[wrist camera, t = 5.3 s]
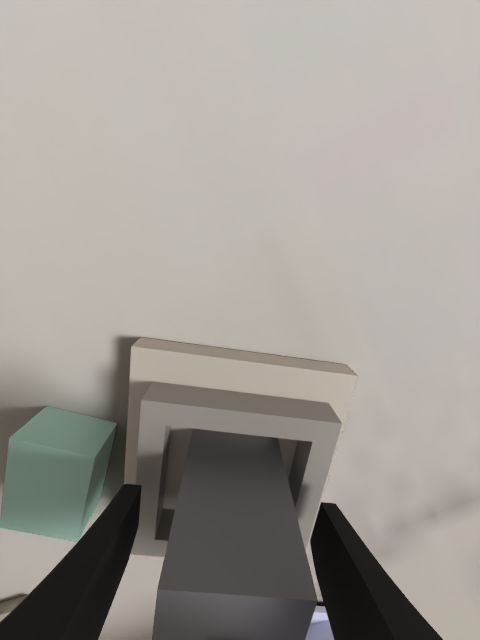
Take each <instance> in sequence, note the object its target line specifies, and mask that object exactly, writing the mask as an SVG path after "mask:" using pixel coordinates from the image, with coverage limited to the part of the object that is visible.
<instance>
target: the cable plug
mask: <svg viewBox="0 0 480 640" xmlns="http://www.w3.org/2000/svg"><path fill="white" fill-rule="evenodd" d="M116 428H117V423H116V422H111V421H107V420H103V419H99V418H95V417H91V416H87V415H82V414H78V413H74V412H70V411H66V410H62V409H58V408H53V407H49V406H46V407H45V408H44V409H43V410H42V411H40V412H39V413H38V414H37V415H36V416H34V417H33V418H32V419H31V420H30V421H29V422H27V423H26V424H25V425H24V426H23V427H21V428H20V429H19V430H18V431H17V432H15V433H14V434H13V435H12V436H11V437H10V438H9V443H8V452H7V461H6V470H5V480H4V489H3V498H2V507H1V516H0V528H6V529H11V530H16V531H22V532H27V533H32V534H38V535H43V536H48V537H53V538H59V539H64V540H69V541H75V542H78V540H79V538H80V536H81V534H82V532H83V530H84V528H85V526H86V525H87V523H88V521H89V519H90V517H91V515H92V513H93V511H94V509H95V508H96V506H97V504H98V502H99V500H100V498H101V493H102V489H103V485H104V480H105V476H106V472H107V467H108V463H109V458H110V454H111V450H112V445H113V441H114V436H115V432H116Z"/></svg>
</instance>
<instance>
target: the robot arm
mask: <svg viewBox="0 0 480 640" xmlns="http://www.w3.org/2000/svg"><path fill="white" fill-rule="evenodd" d="M141 488H142V485H135V484H125V485H123V486H122V487H121V489H120V490H119V492H118V493H117V494H116V496H115V497H114V498H113V500H112V501H111V502H110V504H109V505H108V506H107V508H106V509H105V510H104V511H103V513H102V514H101V515H100V516H99V518H98V519H97V520H96V521H95V522H94V524H93V525H92V526H91V527H90V528H89V530H88V531H87V532H86V533H85V534H84V535H83V537H82V538H81V539H80V540H79V541H78V543H77V544H76V545H75V546H74V547H73V548H72V549H71V550H70V551H69V553H68V554H67V555H66V556H65V557H64V558H63V559H62V560H61V561H60V562H59V563H58V565H57V566H56V567H55V568H54V569H53V570H52V571H51V572H50V573H49V574H48V575H47V576H46V577H45V578H44V579H43V581H42V582H41V583H40V584H39V585H38V586H37V587H36V588H35V589H34V590H33V591H32V592H31V593H30V594H29V595H28V596H27V597H26V598H25V599H24V600H23V601H22V602H21V603H20V604H19V605H18V606H17V607H16V608H15V609H14V610H13V611H11V612H10V613H9V614H8V615H7V616H6V617H5V618H4V619H3V620H2V621H1V622H0V640H98V638H99V635H100V633H101V630H102V627H103V625H104V622H105V620H106V617H107V615H108V612H109V609H110V607H111V604H112V602H113V599H114V596H115V594H116V591H117V589H118V586H119V584H120V581H121V578H122V576H123V573H124V571H125V568H126V565H127V563H128V560H129V557H130V553H131V550H132V547H133V544H134V540H135V537H136V533H137V530H138V526H139V515H140V501H141ZM310 544H311V549H312V555H313V561H314V566H315V571H316V576H317V579H318V583H319V587H320V590H321V594H322V598H323V601H324V605H325V606H316V608H315V611H314V614H313V617H312V620H311V623H310V626H309V629H308V632H307V635H306V639H305V640H443V639H442V638H441V637H440V636H439V634H438V633H437V632H436V631H435V630H434V629H433V628H432V627H431V626H430V624H429V623H428V622H427V621H426V620H425V619H424V618H423V617H422V615H421V614H420V613H419V612H418V611H417V610H416V609H415V607H414V606H413V605H412V604H411V603H410V601H409V600H408V599H407V598H406V597H405V595H404V594H403V593H402V592H401V590H400V589H399V588H398V587H397V586H396V584H395V583H394V582H393V581H392V579H391V578H390V577H389V576H388V574H387V573H386V572H385V570H384V569H383V568H382V566H381V565H380V564H379V563H378V561H377V560H376V559H375V557H374V556H373V555H372V553H371V552H370V551H369V549H368V548H367V547H366V545H365V544H364V543H363V541H362V540H361V538H360V537H359V536H358V534H357V533H356V532H355V530H354V529H353V527H352V526H351V525H350V523H349V522H348V520H347V519H346V518H345V516H344V515H343V514H342V512H341V511H340V509H339V508H338V507H337V505H336V504H333V503H323V502H321V504H320V507H319V511H318V514H317V518H316V521H315V525H314V528H313V531H312V535H311V538H310Z"/></svg>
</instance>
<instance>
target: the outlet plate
mask: <svg viewBox="0 0 480 640" xmlns="http://www.w3.org/2000/svg"><path fill="white" fill-rule="evenodd" d="M357 379H358V375H357V374H356V373H355V372H354V371H353V370H352V369H351V368H350V367H349V366H348V365H345V364H337V363H330V362H322V361H315V360H307V359H300V358H292V357H285V356H277V355H270V354H262V353H255V352H247V351H240V350H232V349H225V348H217V347H210V346H202V345H195V344H187V343H180V342H172V341H165V340H157V339H150V338H142V337H141V338H140V339H138V340H137V341H136V342H135V343H134V344H133V345H132V346H131V360H130V378H129V397H128V416H127V434H126V453H125V472H124V485H125V484H135V485H142V488H141V501H140V515H139V526H138V530H137V533H136V537H135V540H134V544H133V547H132V550H131V553H130V557H137V558H150V559H163V560H164V558H165V553H166V549H167V544H168V540H169V535H170V531H171V526H172V521H173V517H174V512H175V508H176V503H177V499H178V494H179V490H180V485H181V481H182V476H183V472H184V467H185V462H186V458H187V453H188V449H189V444H190V440H191V435H192V431H193V429H202V430H211V431H220V432H229V433H238V434H247V435H256V436H265V437H274V438H278V441H279V445H280V449H281V453H282V458H283V462H284V466H285V470H286V474H287V478H288V482H289V486H290V490H291V494H292V498H293V502H294V506H295V510H296V514H297V519H298V523H299V527H300V531H301V535H302V539H303V543H304V547H305V551H306V555H307V552H308V548H309V545H310V538H311V535H312V531H313V528H314V525H315V521H316V518H317V514H318V511H319V507H320V504H321V502H322V500H323V496H324V493H325V490H326V486H327V483H328V479H329V476H330V472H331V469H332V465H333V462H334V458H335V455H336V451H337V448H338V445H339V441H340V438H341V434H342V431H343V427H344V424H345V420H346V417H347V413H348V410H349V407H350V403H351V400H352V396H353V393H354V389H355V386H356V382H357Z"/></svg>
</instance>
